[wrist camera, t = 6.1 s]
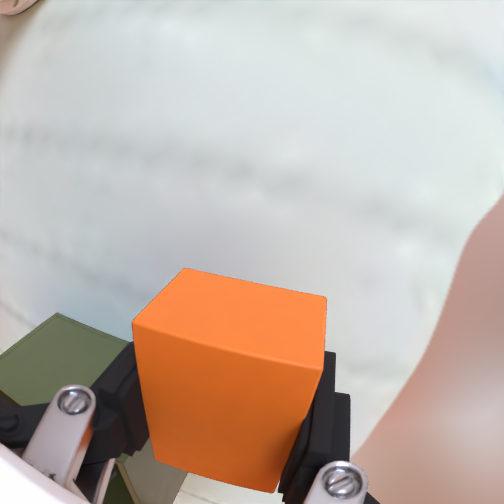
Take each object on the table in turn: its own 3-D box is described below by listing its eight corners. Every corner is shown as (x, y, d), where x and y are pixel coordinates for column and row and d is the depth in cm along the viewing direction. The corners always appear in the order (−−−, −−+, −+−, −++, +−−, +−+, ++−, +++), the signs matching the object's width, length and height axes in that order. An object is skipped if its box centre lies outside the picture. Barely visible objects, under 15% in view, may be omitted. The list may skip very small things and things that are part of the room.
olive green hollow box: (56, 312, 24) (-19, 370, 15) (189, 362, 21) (123, 464, 13) (87, 419, 29) (43, 474, 20) (191, 464, 27) (155, 536, 18)
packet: (183, 266, 10) (129, 320, 7) (327, 296, 9) (323, 369, 6) (185, 403, 12) (154, 460, 9) (287, 429, 12) (273, 494, 9)
